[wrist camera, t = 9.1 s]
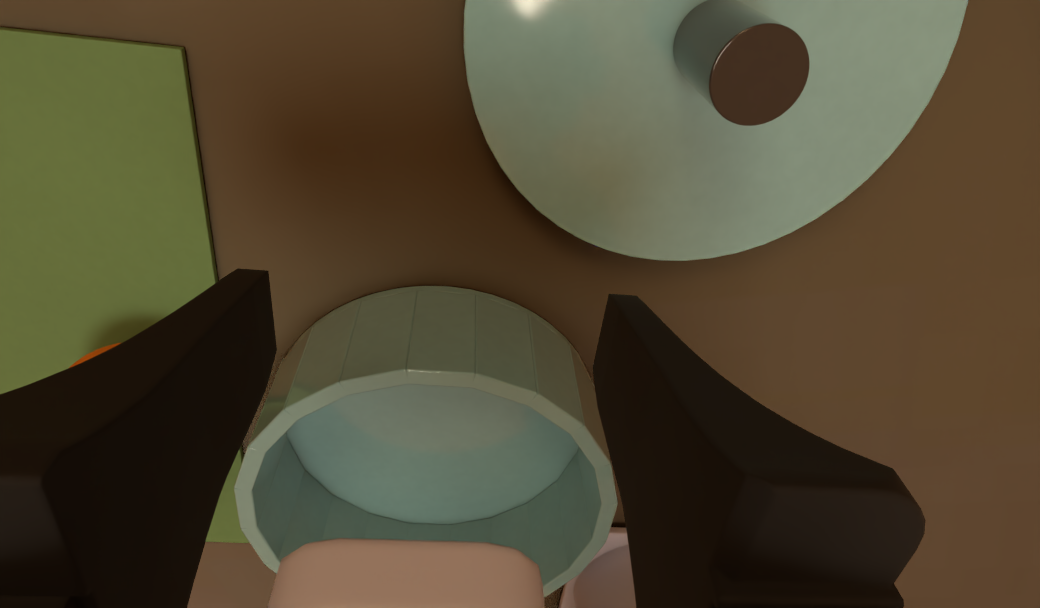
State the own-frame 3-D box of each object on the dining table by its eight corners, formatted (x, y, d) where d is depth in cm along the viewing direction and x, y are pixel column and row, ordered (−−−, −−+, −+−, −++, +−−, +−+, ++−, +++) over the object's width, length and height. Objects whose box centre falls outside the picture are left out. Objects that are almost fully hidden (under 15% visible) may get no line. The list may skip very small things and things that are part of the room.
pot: (568, 529, 32) (581, 627, 28) (284, 519, 31) (254, 620, 26) (625, 298, 25) (654, 384, 21) (258, 271, 23) (211, 357, 19)
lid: (837, 261, 24) (906, 337, 21) (448, 228, 23) (442, 304, 19) (1052, -229, 17) (1227, -258, 13) (488, -330, 15) (491, -398, 11)
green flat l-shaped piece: (255, 538, 31) (253, 543, 31) (1, 529, 30) (-3, 535, 30) (184, 46, 19) (180, 49, 19) (-242, -1, 18) (-252, 1, 18)
